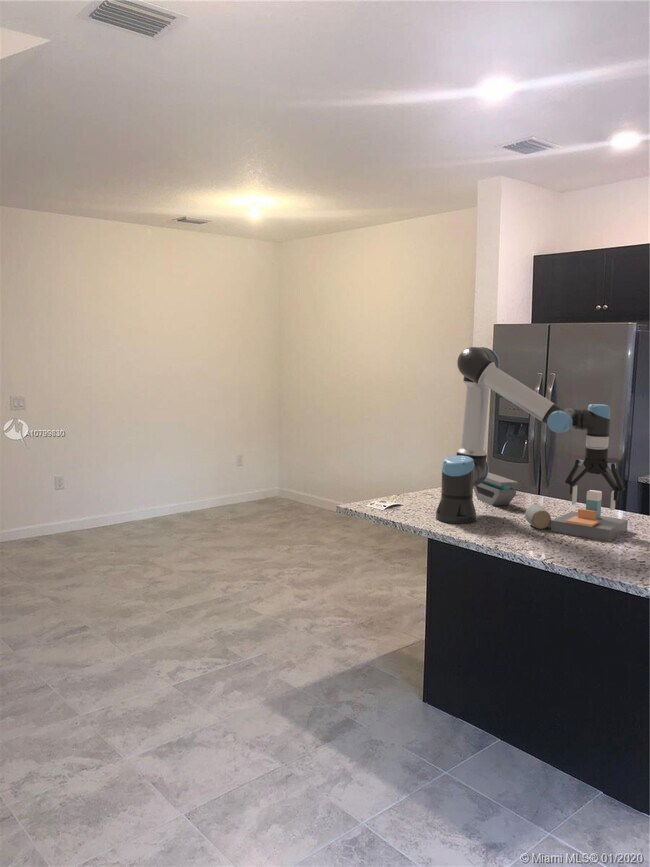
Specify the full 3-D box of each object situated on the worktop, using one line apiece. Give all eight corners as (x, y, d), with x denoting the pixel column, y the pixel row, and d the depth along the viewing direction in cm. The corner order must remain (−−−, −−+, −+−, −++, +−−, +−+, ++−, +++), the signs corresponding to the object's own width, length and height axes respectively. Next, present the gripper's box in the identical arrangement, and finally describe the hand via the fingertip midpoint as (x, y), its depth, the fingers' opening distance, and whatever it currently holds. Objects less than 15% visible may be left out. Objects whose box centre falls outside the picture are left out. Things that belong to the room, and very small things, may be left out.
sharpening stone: (470, 496, 306) (471, 472, 305) (486, 496, 309) (487, 472, 307) (499, 509, 282) (500, 482, 281) (516, 508, 285) (518, 482, 283)
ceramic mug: (531, 529, 249) (533, 508, 248) (524, 524, 257) (525, 503, 256) (560, 530, 249) (562, 509, 248) (552, 525, 257) (554, 504, 256)
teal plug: (595, 531, 248) (598, 492, 246) (584, 529, 250) (586, 491, 249) (599, 529, 251) (602, 491, 249) (588, 527, 253) (590, 489, 252)
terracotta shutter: (592, 526, 236) (592, 515, 236) (565, 522, 242) (566, 511, 242) (600, 522, 243) (601, 511, 243) (575, 518, 249) (575, 507, 249)
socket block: (609, 541, 234) (609, 529, 234) (551, 531, 247) (551, 520, 247) (627, 530, 250) (627, 519, 249) (571, 521, 262) (572, 511, 262)
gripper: (636, 450, 243) (632, 510, 245) (566, 443, 258) (562, 499, 261) (630, 452, 237) (626, 513, 239) (558, 445, 252) (554, 502, 255)
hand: (593, 506), depth 250 cm, fingers open, 13 cm apart
